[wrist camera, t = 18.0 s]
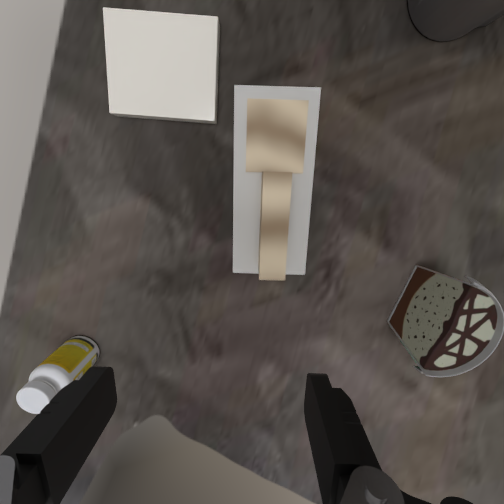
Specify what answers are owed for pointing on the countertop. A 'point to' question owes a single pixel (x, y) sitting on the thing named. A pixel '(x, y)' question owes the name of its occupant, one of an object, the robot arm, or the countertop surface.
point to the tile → (162, 65)
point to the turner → (275, 172)
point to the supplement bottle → (57, 372)
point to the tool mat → (250, 182)
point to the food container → (446, 322)
